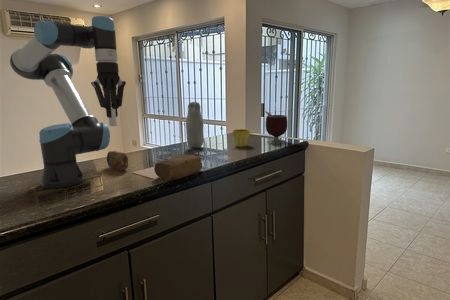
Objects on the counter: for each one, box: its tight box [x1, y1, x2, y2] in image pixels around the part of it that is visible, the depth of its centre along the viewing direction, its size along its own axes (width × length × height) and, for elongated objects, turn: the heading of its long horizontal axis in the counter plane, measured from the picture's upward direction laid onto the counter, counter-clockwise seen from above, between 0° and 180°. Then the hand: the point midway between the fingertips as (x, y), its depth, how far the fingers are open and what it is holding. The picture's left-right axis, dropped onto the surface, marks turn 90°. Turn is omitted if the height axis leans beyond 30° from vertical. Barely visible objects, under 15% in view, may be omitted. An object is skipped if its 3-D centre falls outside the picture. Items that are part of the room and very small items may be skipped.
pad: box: [132, 166, 161, 181], centre depth 136 cm, size 20×17×1 cm
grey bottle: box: [185, 101, 205, 149], centre depth 183 cm, size 10×10×28 cm
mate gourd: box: [264, 110, 288, 145], centre depth 196 cm, size 16×14×20 cm
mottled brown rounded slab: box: [106, 150, 129, 172], centre depth 141 cm, size 15×3×8 cm, turn 49°
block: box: [153, 153, 203, 182], centre depth 129 cm, size 11×8×20 cm
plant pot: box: [232, 128, 250, 148], centre depth 188 cm, size 10×10×10 cm
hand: (113, 125), depth 116 cm, fingers closed
